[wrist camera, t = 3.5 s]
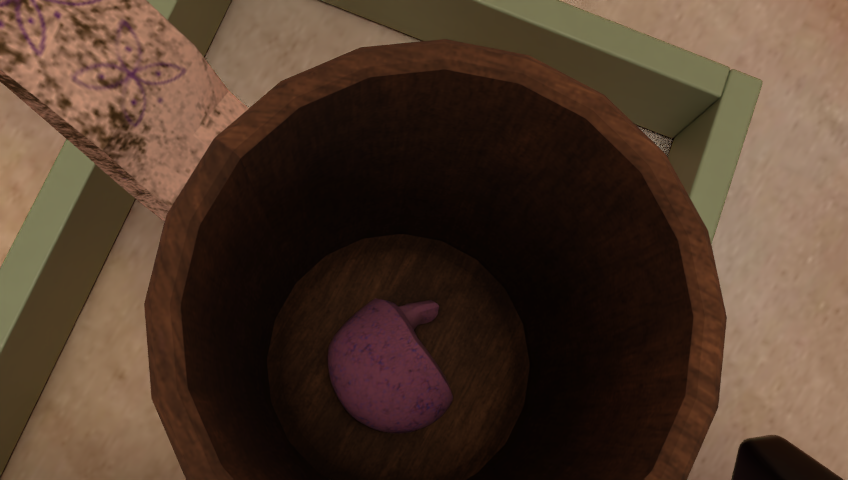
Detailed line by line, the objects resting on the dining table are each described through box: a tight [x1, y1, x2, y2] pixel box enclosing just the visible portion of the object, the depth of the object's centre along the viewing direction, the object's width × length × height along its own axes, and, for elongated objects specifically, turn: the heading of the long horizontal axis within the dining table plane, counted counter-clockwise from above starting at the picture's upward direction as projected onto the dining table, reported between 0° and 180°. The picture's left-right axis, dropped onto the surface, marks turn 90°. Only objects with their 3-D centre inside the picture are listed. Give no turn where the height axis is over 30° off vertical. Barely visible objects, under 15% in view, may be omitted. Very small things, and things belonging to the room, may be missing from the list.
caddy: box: [0, 0, 762, 476], centre depth 18 cm, size 14×17×3 cm
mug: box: [0, 0, 727, 480], centre depth 14 cm, size 10×7×12 cm
